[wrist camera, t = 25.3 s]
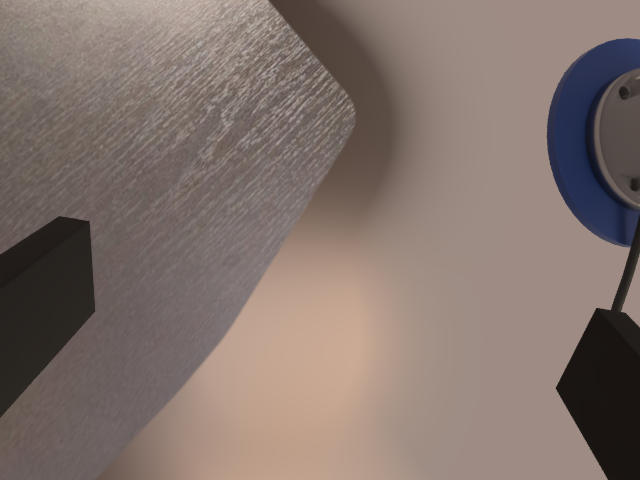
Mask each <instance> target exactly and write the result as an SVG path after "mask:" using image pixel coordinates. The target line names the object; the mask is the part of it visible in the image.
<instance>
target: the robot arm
mask: <svg viewBox="0 0 640 480" xmlns="http://www.w3.org/2000/svg"><path fill="white" fill-rule="evenodd" d="M585 141H586V150H587V155H588V159H589V163H590V166H591V168H592V171H593V173H594V175H595V177H596V179H597V181H598V183H599V184H600V186H601V187H602V188H603V190H604V191H605V192H606V193H607V194H608V195H609V196H610V197H611V198H612V199H613V200H614V201H615V202H617V203H618V204H620V205H621V206H623V207H625V208H627V209H630V210H633V211H638V212H640V68H638V69H634V70H632V71H629V72H627V73H624V74H622V75H620V76H617V77H615V78H613V79H612V80H610V81H609V82H608V83H606V84H605V85H604V86H603V87H602V88H601V89H600V91H599V92H598V93H597V95H596V96H595V98H594V100H593V102H592V104H591V107H590V109H589V112H588V116H587V121H586V130H585ZM639 254H640V215H639V219H638V223H637V227H636V230H635V234H634V238H633V241H632V245H631V249H630V252H629V256H628V259H627V263H626V266H625V270H624V273H623V276H622V279H621V282H620V285H619V287H618V290H617V293H616V296H615V299H614V302H613V305H612V308H611V310H605V309H600V308H596V310H595V312H594V314H593V316H592V318H591V320H590V322H589V324H588V326H587V328H586V330H585V331H584V333H583V335H582V338H581V340H580V341H579V343H578V345H577V347H576V349H575V351H574V353H573V355H572V357H571V359H570V361H569V363H568V365H567V367H566V369H565V371H564V373H563V375H562V377H561V379H560V381H559V383H558V385H557V387H556V389H557V392H558V393H559V395H560V397H561V398H562V400H563V402H564V404H565V405H566V407H567V409H568V411H569V412H570V414H571V416H572V418H573V419H574V421H575V423H576V424H577V426H578V428H579V430H580V432H581V433H582V435H583V437H584V439H585V440H586V442H587V444H588V445H589V447H590V449H591V451H592V453H593V454H594V456H595V458H596V459H597V461H598V463H599V465H600V466H601V468H602V470H603V471H604V473H605V475H606V477H607V479H608V480H640V327H639V326H638V325H637V324H636V323H635V322H634V321H633V320H632V319H631V318H630V317H629V316H628V315H627V314H626V313H623V312H621V310H622V306H623V304H624V301H625V298H626V295H627V292H628V289H629V287H630V284H631V281H632V277H633V275H634V271H635V268H636V264H637V261H638V257H639ZM94 312H95V301H94V285H93V269H92V253H91V237H90V221H84V220H79V219H73V218H67V217H61V216H59V217H57V218H56V219H54V220H53V221H51V222H50V223H48V224H47V225H45V226H44V227H42V228H41V229H39V230H37V231H36V232H34V233H33V234H31V235H30V236H28V237H27V238H25V239H24V240H22V241H21V242H19V243H18V244H16V245H14V246H13V247H11V248H10V249H8V250H7V251H5V252H4V253H2V254H1V255H0V417H1V416H2V415H3V414H4V413H5V412H6V411H7V409H8V408H9V407H10V406H11V405H12V404H13V403H14V402H15V401H16V399H17V398H18V397H19V396H20V395H21V394H22V393H23V392H24V390H25V389H26V388H27V387H28V386H29V385H30V384H31V383H32V381H33V380H34V379H35V378H36V377H37V376H38V375H39V374H40V373H41V371H42V370H43V369H44V368H45V367H46V366H47V365H48V364H49V362H50V361H51V360H52V359H53V358H54V357H55V356H56V355H57V353H58V352H59V351H60V350H61V349H62V348H63V347H64V346H65V344H66V343H67V342H68V341H69V340H70V339H71V338H72V337H73V336H74V334H75V333H76V332H77V331H78V330H79V329H80V328H81V327H82V325H83V324H84V323H85V322H86V321H87V320H88V319H89V318H90V316H91V315H92V314H93V313H94Z"/></svg>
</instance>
